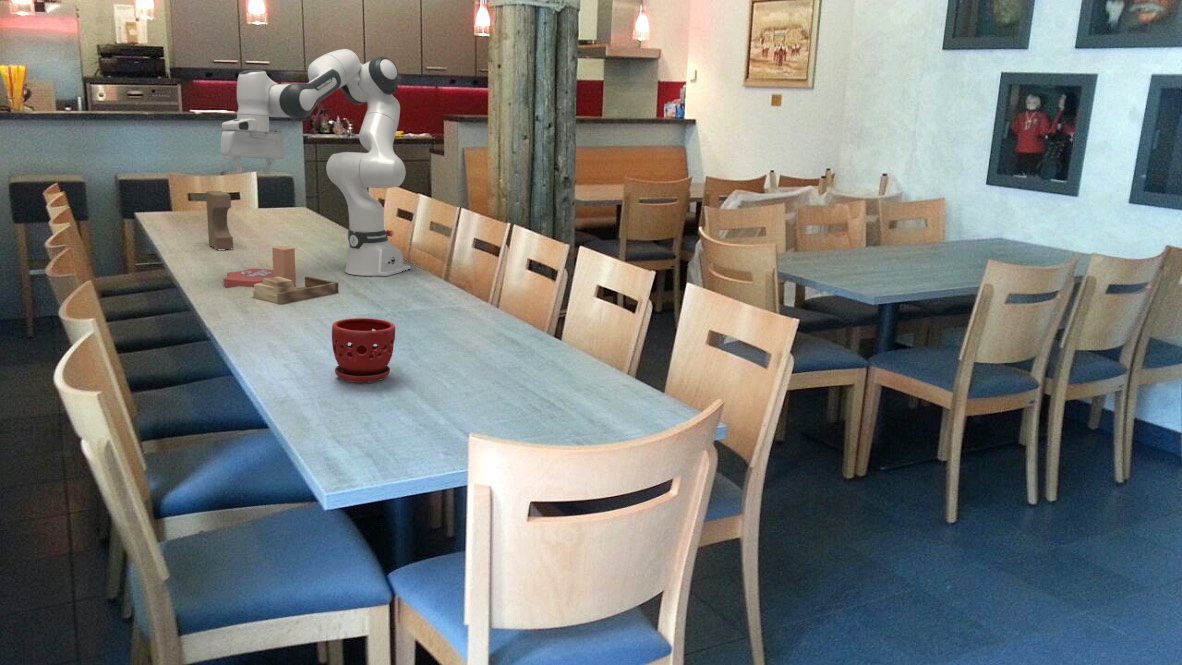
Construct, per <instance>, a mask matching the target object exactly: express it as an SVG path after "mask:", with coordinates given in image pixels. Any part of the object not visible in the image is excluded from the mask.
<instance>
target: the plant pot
mask: <svg viewBox="0 0 1182 665" xmlns="http://www.w3.org/2000/svg"><path fill="white" fill-rule="evenodd" d="M395 340H396V326H395V324H394V323H393V322H390V321H387V320H383V319H378V318H367V317H365V318H364V317H360V318H359V317H357V318H345V319H340V320H336V321H335V322H333V323H332V326H331V344H332V351H333V355H334V358H335V361H336V363H337V366H336V367H335V369H334V372H335V375H336V376H337V377H338V378H339V379H341V380H342V381H345V382H348V383H350V382H352V383H356V384H358V383H359V384H365V383H375V382H378V381H381V380H384V379H385V378H386V377H388V375H389V374H390V372H391V368H390V367H389V366H388V365H389V364H390V361H391V360H392V359H391V358H392V356H393V353H394V344H395ZM349 344H350V345H349Z"/></svg>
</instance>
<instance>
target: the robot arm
mask: <svg viewBox="0 0 1182 665" xmlns="http://www.w3.org/2000/svg"><path fill="white" fill-rule="evenodd" d="M399 76H400V75H399V70H398V67H397V65H396V64H395V62H394V61H393V60H392V59H390V58H389V57H387V56H378V57H374V58H372V59H371V60H369V61H366V62H365V63H364V64H363V63H361V61H360V59H359V56H358V55H357V54H356V53H355V52H354V51H352V50H351V49H349V48H348V49H347V48H342V49H338V50H333V51H330V52H327V53H325V54H322V55H320V56H319V57H317V58H316V59H314V60H313V61H312V62H311V63H310V64H309V65H308V69H307V77H308V81H309V82H306V83H303V82H296V83H295V82H294V83H281V84H279V83H277V82H275V81H274V80H272V79H271V78H270V77H269V76H268V75H267V72H266V71H265V70H263V69H249V70H248V69H247V70H243V71H241V72H239V74H238V77H237V81H236V82H237V83H236V101H237V106H238V108H237V109H238V110H237V112H236V118H235V119H231V120H227V121H224V122H222V123H221V128H222V130H223V131H222V133H221V135H220V152H221V155H222V156H224V157H232V162H233V164H234V165H235V167H236V173H237V174H244V173H245V166H243V165H242V163H241V161H242V158H251V159H265V163H266V165H265V167H263V168H262V174H263V175H271V174H272V168H273V166H274V164H275V160H283V159H284V157H285V146H284V139H283V133H282V131H281V130H280V129H279V128H276V127H274V128H273V127H270V117H271V118H293V119H294V118H296V119H304V118H307V117H308V116H310V115H311V114H312V113H313V111H314V109H315V108H316V107H317V105H318V104H319V103H320V102H322V101H324V100H325V99H326V98H327V97H329V96H331V95H332V94H333V93H335V92H336V91H337V90H338V89H341V92H342V93H343V95H344V97H345V99H347V100H348V101H349V102H350V103H352V104H353V105H356V106H360V105H364V104H367V110H366V112H365V115H364V118H363V122H362V124H361V126H360V130H359V133H358V139H359V142H360V144H361V145H362V147H363V148H364V149H365V150H367V151H368V152H354V151H351V152H350V151H344V152H343V151H342V152H338V153H333V154H331V155H330V157H329V158H328V161H327V162H326V167H325V168H326V169H325V170H326V174H327V177H328V179H329V180H330V181H331V182H332V183H333V184H334V185H335V186H336V187H337V188H338V189H339V190H340V191H341V194H343V196H344V198H345V201H346V204H347V211H348V221H349V222H348V225H349V227H348V230H347V240H348V244H349V245H348V248H347V249H348V251H347V261H346V265H345V270H344V272H345V273H346V274H349V275H353V276H365V277H366V276H370V277H371V276H373V277H375V276H378V277H388V276H389V277H390V276H393V275H395V274H399V273H403V272H406V271H409V270H408V269H410V270H411V269H412V268H411V266H410V265H408V264H405V263H404V256H403V252H402V251H401V250H400V249H399V248H398V247H397V246H395V245H394V244H393V243H392V242H390V241H389V237H393V236H394V231H393V230H389V229H387V230H385V214H384V213H385V212H384V211H385V209H384V207H383V205H382V203H381V202H380V201H378V200H377V199H375V198H374V197H372V196H371V195H370V192H369V191H368V188H369V189H370V188H371V189H384V190H385V189H390V188H391V189H392V188H398V187H400V186H401V185H402V183H403V182H404V181H405V177H406V174H407V172H406V166H405V164H404V162H403V160H402V159H401V158H400V157H398V155H397V154H396V153H395V151H394V141H395V137H396V133H397V130H398V127H399V122H400V114H401V105H400V102H399V101H398V99H397V98H396V97H395V96H394V95H393V94H396V92H397V91H398V88H399V87H398V83H399ZM405 270H406V271H405ZM402 271H403V272H402Z"/></svg>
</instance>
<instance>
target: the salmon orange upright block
mask: <svg viewBox="0 0 1182 665" xmlns="http://www.w3.org/2000/svg"><path fill="white" fill-rule="evenodd" d="M271 249H272V251H271V252H272V270H273V277H282V278H285V279H289V280H292V285H294V288H297V283H296V281H297V278H296V251H295V250H296V248H295V247H290V246H284V245H282V246H274V247H272V248H271Z"/></svg>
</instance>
